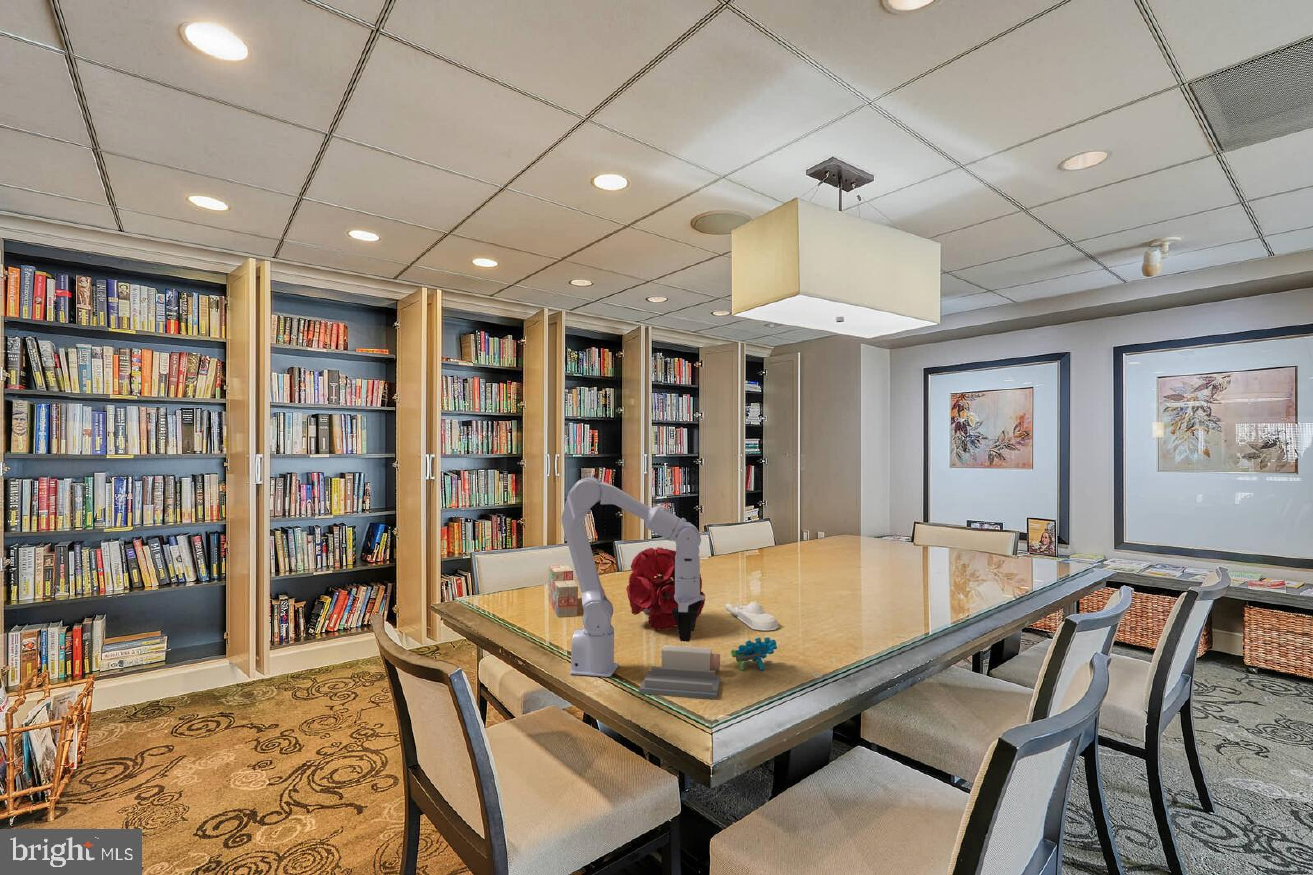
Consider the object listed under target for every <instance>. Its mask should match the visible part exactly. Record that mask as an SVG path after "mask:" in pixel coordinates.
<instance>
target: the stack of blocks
mask: <svg viewBox="0 0 1313 875" xmlns="http://www.w3.org/2000/svg"><path fill="white" fill-rule="evenodd" d="M548 583H549V584H548V588H549V589H548V590H549V591H548V602H549V604H550V607H551V608H552V609H553V611H554V614H555V615H556V616H557V618H564V617H566V618H567V617H576V616H578V603H579V602H578V601H579V600H578V599H579V598H578V596H579V584H577V583H576V582H575V581H574V571H573V569H572V568H571V567H570V566H569V565H568V564H554V565H553V564H551V565H548Z"/></svg>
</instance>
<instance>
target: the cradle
mask: <svg viewBox="0 0 1313 875" xmlns="http://www.w3.org/2000/svg"><path fill="white" fill-rule="evenodd" d="M716 672H717V671H716V670H702V669H688V668H674V667H662V666H660V665H659V666H656V665H652V666H651V670H648V672H647V674H646V675H645V677H644V679H643V681H642V683H641V684H640V686H639V688H638V694H641V695H653V696H654V695H656V696H669V697H678V698H679V697H681V698H693V699H704V700H717V699H718V695H719V689H720V685H721V676H720V675H719V676H718V675H716V674H717V673H716Z"/></svg>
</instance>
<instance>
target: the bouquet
mask: <svg viewBox="0 0 1313 875" xmlns="http://www.w3.org/2000/svg"><path fill="white" fill-rule="evenodd" d="M675 556H676V550H672V549H668V548H663V547H660V546H658V547H656V548H655V549H654V548H653V547H650V548H646V549H644V550H641V551H640V552H638V554H637V555H635V557H633V559H632V562H631V565H630V569H631V573H630V575H629V578H628V585H626V592H627V598H628V601H629V606H630V609H631V611H630V612H631V614H633V616H636V615H639V614H640V613H641V612H643V613H644V614H648V618H647V619H648V621H647V622H648V625H649V627H650V628H652V629H653V630H670V629H672V628H673V626H675V627H677V624H676V621H675V619H674V617H673V615H672V609H673V608H678V603H677V602H676V601H675V599H674V595H675ZM702 588H703V579H702V575H701V574H700V595H704V596H705V597H706V595H705V593H704V592H703V591H702ZM705 601H706V599H705V600H702V603H701V605H700V607H699V610H698V614H697V618H699V616H700V615H702V611H703V608H704V606H705Z"/></svg>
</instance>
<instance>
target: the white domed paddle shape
mask: <svg viewBox="0 0 1313 875" xmlns="http://www.w3.org/2000/svg"><path fill="white" fill-rule="evenodd" d="M725 610H726V611H727V612H729V613H730V614H731V615H734V616H735V617H736V619H739V620H740V621H741V622H742V623H744V624H745V625H746V626H747V627H749V628H750V629H752V630H755V631H762V632H764V631H767V632H768V631H775V630H777V629H778V628H780V626H779V624H778V620H777V618H776V617H775V616H773V615H771V614H769V613H768V612H765V611H764V609H763V607H762V605H761V604H760V603H758V602H757V601H756V600H754V601H751V602H750V603H748V604H747V605H740V604H739V601H736V606H734V605H733V604H732V603H726V604H725Z"/></svg>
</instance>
